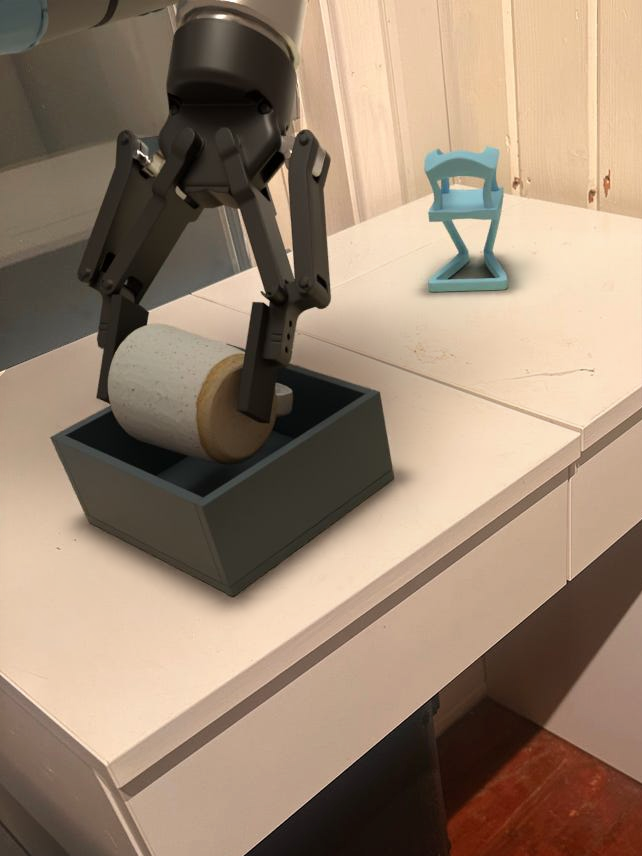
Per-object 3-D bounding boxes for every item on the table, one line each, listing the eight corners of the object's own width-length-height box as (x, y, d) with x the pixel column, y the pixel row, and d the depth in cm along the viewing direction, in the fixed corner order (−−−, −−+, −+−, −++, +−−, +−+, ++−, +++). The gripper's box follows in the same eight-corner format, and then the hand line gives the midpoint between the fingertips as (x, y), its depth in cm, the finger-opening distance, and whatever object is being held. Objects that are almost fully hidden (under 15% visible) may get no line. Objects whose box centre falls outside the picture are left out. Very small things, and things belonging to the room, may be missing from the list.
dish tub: (87, 522, 64) (49, 436, 60) (249, 424, 73) (227, 343, 68) (233, 597, 57) (201, 506, 52) (394, 478, 65) (380, 391, 61)
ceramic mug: (221, 491, 56) (185, 375, 51) (129, 463, 60) (86, 351, 55) (326, 413, 63) (303, 303, 58) (237, 391, 66) (208, 286, 61)
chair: (514, 257, 94) (508, 127, 86) (507, 289, 88) (499, 154, 80) (440, 259, 95) (427, 132, 87) (428, 292, 89) (413, 158, 81)
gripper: (421, 87, 57) (368, 441, 57) (126, 93, 63) (77, 413, 63) (377, 2, 50) (315, 406, 50) (48, 17, 56) (-8, 379, 56)
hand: (182, 410), depth 57 cm, fingers closed on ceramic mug, 9 cm apart
